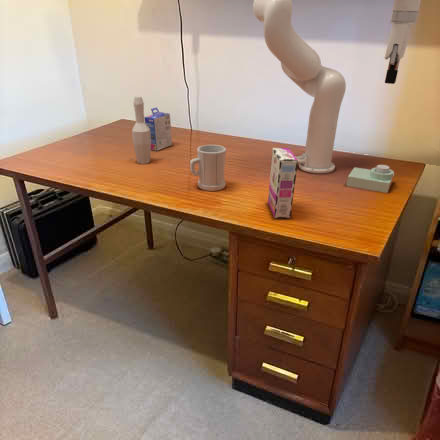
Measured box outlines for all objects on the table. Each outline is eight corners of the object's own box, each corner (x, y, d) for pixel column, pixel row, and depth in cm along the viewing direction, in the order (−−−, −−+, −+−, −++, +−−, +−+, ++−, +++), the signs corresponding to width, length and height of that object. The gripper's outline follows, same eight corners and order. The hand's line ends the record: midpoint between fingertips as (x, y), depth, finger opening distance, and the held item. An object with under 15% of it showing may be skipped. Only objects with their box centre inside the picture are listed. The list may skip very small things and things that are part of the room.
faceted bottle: (135, 164, 156) (128, 99, 143) (134, 159, 161) (128, 95, 149) (153, 163, 157) (148, 98, 145) (151, 158, 162) (146, 94, 150)
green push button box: (346, 185, 141) (348, 170, 139) (352, 176, 149) (355, 161, 146) (387, 193, 137) (391, 177, 134) (392, 182, 144) (395, 168, 141)
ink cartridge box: (162, 143, 179) (159, 105, 171) (172, 145, 176) (170, 107, 168) (146, 148, 172) (143, 110, 164) (157, 151, 170) (154, 111, 161)
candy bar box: (292, 218, 120) (298, 159, 111) (274, 219, 120) (279, 160, 111) (283, 202, 130) (289, 147, 120) (267, 203, 129) (271, 147, 120)
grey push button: (374, 172, 138) (375, 167, 137) (376, 169, 141) (377, 163, 140) (387, 175, 137) (388, 169, 136) (389, 171, 140) (390, 165, 139)
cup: (213, 195, 134) (213, 156, 127) (188, 189, 138) (187, 151, 131) (230, 184, 141) (231, 147, 134) (207, 179, 145) (206, 142, 138)
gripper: (394, 16, 141) (381, 79, 152) (387, 18, 130) (374, 85, 141) (419, 17, 138) (404, 80, 149) (413, 19, 127) (398, 87, 138)
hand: (389, 83), depth 145 cm, fingers closed
